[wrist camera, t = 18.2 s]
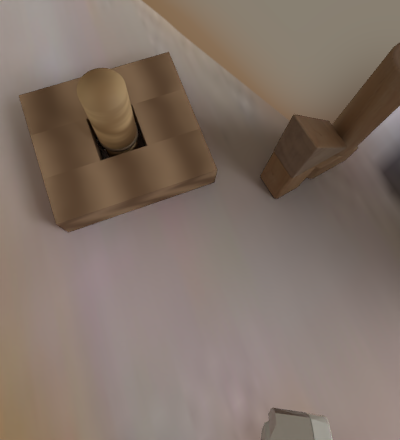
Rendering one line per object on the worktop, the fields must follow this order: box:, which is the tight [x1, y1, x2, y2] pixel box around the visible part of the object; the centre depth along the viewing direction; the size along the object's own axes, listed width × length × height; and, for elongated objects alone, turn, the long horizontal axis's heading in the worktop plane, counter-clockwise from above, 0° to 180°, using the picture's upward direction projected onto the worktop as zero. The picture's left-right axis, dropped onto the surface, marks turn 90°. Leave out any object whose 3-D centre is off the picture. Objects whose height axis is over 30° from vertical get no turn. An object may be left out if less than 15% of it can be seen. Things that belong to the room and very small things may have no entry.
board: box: [19, 52, 217, 232], centre depth 42 cm, size 18×16×4 cm
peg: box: [77, 68, 139, 157], centre depth 38 cm, size 4×4×12 cm
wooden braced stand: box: [260, 43, 400, 199], centre depth 35 cm, size 4×11×18 cm, turn 120°
